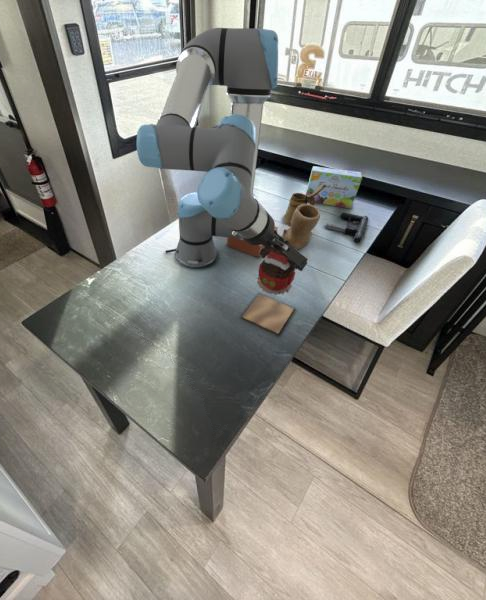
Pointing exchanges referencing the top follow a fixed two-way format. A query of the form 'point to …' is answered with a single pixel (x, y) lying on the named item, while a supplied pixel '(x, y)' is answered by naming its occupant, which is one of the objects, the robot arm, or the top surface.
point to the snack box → (334, 186)
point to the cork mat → (268, 313)
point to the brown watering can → (299, 203)
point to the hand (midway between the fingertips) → (287, 256)
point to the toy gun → (351, 230)
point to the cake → (275, 271)
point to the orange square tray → (246, 245)
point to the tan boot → (302, 225)
